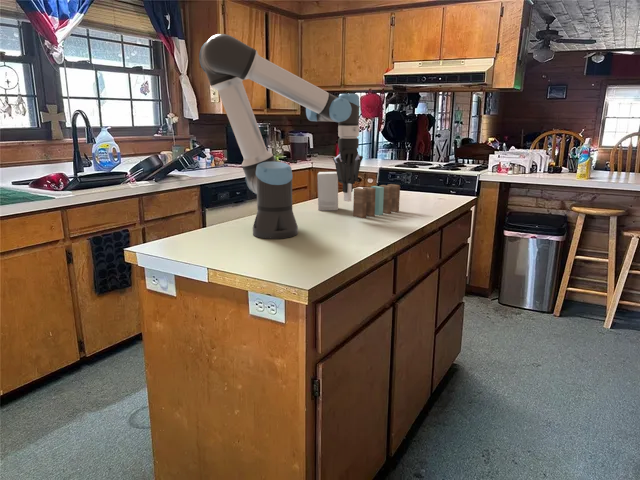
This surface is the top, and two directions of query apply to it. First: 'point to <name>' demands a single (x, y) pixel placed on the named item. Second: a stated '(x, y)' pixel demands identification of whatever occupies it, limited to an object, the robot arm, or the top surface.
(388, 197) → the domino
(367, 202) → the domino
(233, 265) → the top surface
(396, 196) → the domino
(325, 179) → the skincare box
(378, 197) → the teal tile
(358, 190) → the domino
